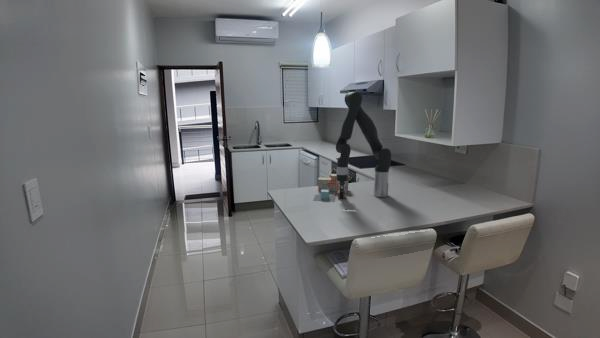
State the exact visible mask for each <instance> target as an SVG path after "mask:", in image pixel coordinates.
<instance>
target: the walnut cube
mask: <svg viewBox="0 0 600 338" xmlns="http://www.w3.org/2000/svg"><path fill="white" fill-rule="evenodd" d="M341 192H343V191H341ZM346 193H347V191H344V194H343V199H342V200H346V198H347V197H346V195H347V194H346ZM337 199H338V200H339V199H340V190H338V191H337ZM340 200H341V199H340Z"/></svg>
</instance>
